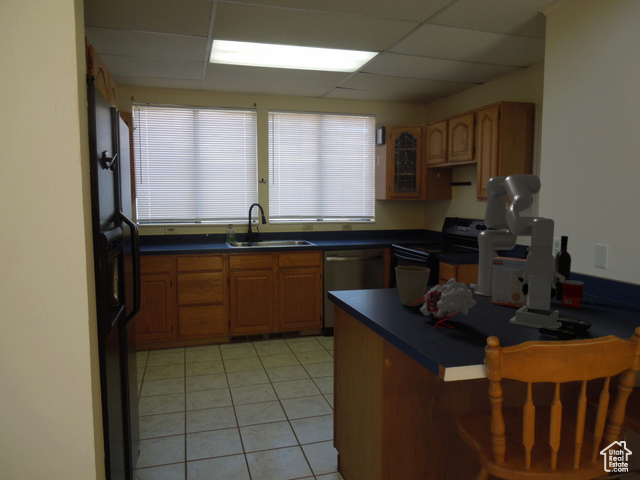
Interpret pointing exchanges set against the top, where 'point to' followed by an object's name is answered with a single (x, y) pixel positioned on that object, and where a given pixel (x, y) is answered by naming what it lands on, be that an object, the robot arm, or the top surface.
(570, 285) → the canned food
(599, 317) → the top surface
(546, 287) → the supplement box
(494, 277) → the cracker box
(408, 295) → the plant pot
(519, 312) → the tray
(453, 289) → the molecular structure model
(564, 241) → the wine bottle
